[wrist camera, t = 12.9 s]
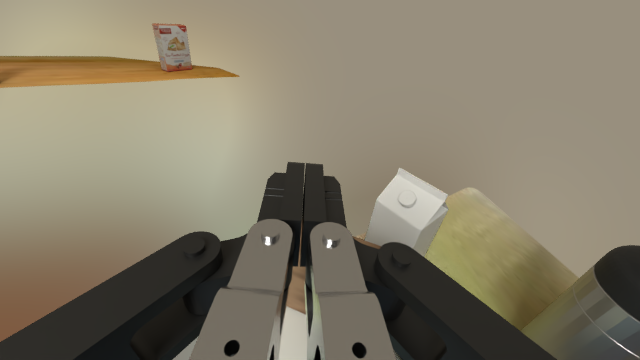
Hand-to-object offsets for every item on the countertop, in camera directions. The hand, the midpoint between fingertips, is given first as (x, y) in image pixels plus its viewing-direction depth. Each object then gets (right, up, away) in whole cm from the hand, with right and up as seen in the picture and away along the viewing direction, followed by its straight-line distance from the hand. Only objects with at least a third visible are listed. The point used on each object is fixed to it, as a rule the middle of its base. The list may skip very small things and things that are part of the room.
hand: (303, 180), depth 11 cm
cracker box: (-75, +59, +125) cm, 158 cm away
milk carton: (+12, -16, +32) cm, 38 cm away
